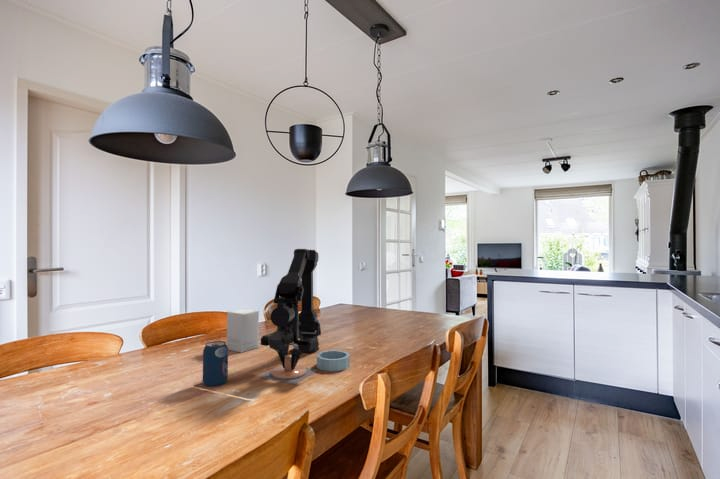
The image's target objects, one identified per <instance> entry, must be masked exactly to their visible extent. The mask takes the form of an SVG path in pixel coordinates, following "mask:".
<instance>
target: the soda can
mask: <svg viewBox="0 0 720 479" xmlns="http://www.w3.org/2000/svg"><path fill="white" fill-rule="evenodd" d="M202 351H203V352H202V384H203V385H204V386H206V387H219V386H223V385H224V384H226V383H227V381H228V379H229V378H228V376H229V374H228V373H229V350H228V347H227V341H223V340H217V341H215V340H214V341H209V342H205V345H204V348H203V350H202Z"/></svg>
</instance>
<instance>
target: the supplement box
mask: <svg viewBox="0 0 720 479" xmlns="http://www.w3.org/2000/svg"><path fill="white" fill-rule="evenodd" d="M259 313H260V311H259V310H256V309H255V310H254V309H248V308H247V309H246V308H242V309H236V310H231V311H230V310H229V311H226V345H227V347H228V351H232V352H237V353H245V352H247V351H251V350H255V349H258V348H259V340H260V339H259V338H260V337H259V336H260V335H259V334H260V332H259V329H260V326H259V325H260V324H259V320H260V319H259V318H260V314H259Z"/></svg>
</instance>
